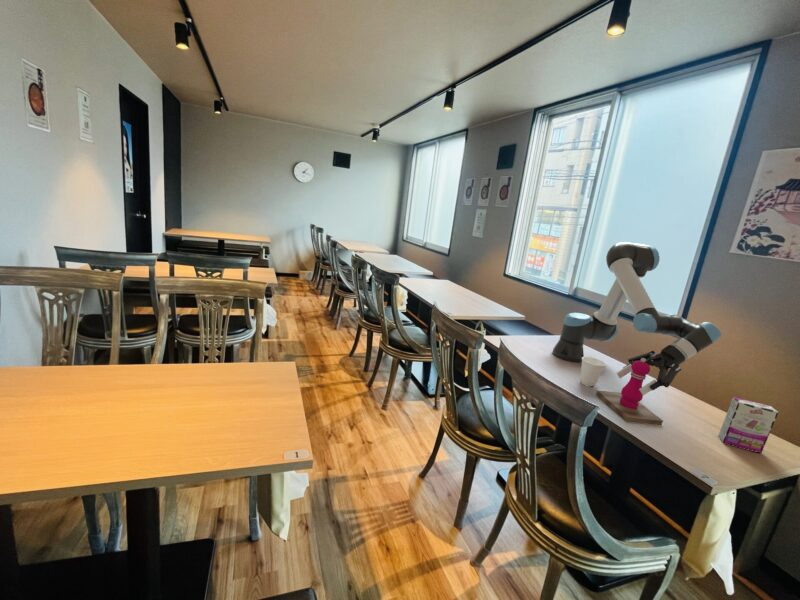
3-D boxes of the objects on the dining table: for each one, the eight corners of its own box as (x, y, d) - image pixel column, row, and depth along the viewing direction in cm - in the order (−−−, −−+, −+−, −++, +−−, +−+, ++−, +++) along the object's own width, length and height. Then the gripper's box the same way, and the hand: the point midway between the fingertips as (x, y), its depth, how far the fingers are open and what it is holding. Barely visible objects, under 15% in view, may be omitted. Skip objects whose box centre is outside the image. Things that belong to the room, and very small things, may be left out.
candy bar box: (754, 446, 131) (772, 405, 127) (761, 454, 127) (780, 412, 123) (716, 435, 135) (732, 396, 131) (722, 443, 130) (739, 402, 126)
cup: (597, 391, 158) (604, 368, 155) (573, 382, 163) (579, 359, 161) (601, 384, 166) (608, 362, 163) (578, 376, 171) (584, 354, 169)
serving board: (595, 394, 155) (597, 390, 154) (626, 397, 156) (628, 393, 155) (626, 421, 135) (627, 417, 135) (661, 425, 137) (663, 420, 136)
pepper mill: (643, 409, 143) (659, 362, 138) (629, 410, 141) (645, 362, 136) (627, 399, 150) (642, 354, 145) (613, 400, 147) (628, 354, 142)
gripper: (709, 374, 129) (656, 407, 132) (658, 346, 153) (614, 375, 156) (701, 358, 127) (647, 392, 130) (650, 333, 151) (605, 363, 154)
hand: (629, 383), depth 143 cm, fingers open, 13 cm apart
